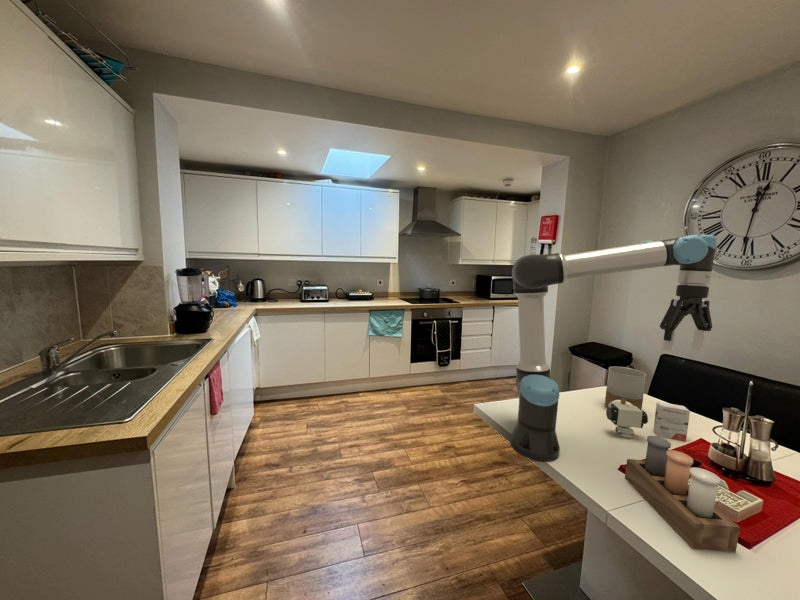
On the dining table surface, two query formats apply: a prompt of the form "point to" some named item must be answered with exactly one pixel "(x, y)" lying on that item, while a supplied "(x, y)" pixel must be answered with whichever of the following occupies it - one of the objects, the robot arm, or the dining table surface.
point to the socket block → (683, 512)
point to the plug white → (702, 492)
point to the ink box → (671, 421)
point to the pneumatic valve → (626, 418)
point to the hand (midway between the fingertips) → (682, 350)
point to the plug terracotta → (677, 472)
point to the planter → (625, 386)
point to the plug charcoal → (656, 456)
